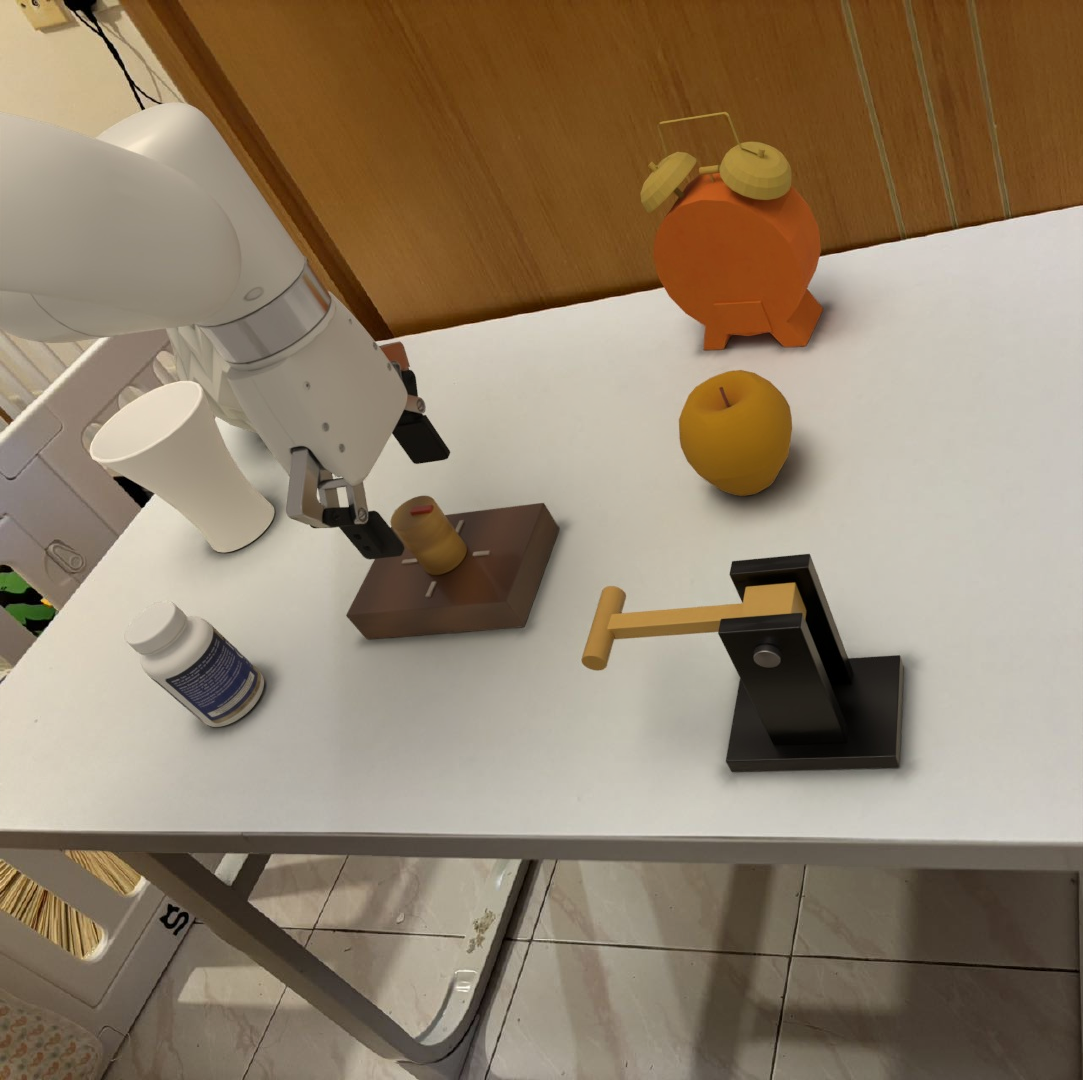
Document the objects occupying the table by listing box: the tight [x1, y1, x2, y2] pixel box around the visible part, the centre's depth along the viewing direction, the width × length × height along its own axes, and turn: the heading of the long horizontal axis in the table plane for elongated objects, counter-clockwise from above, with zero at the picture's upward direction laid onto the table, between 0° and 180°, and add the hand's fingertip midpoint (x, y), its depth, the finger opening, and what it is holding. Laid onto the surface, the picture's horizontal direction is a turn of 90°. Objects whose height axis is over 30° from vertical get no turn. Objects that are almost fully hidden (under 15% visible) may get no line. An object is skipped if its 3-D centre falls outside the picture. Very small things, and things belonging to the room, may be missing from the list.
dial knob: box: [390, 495, 467, 575], centre depth 76 cm, size 4×4×5 cm
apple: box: [678, 369, 793, 497], centre depth 75 cm, size 8×8×9 cm
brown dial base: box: [345, 502, 560, 640], centre depth 79 cm, size 14×10×3 cm
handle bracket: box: [717, 553, 905, 773], centre depth 57 cm, size 10×7×12 cm
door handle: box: [581, 583, 806, 672], centre depth 56 cm, size 12×5×2 cm, turn 81°
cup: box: [89, 381, 276, 553], centre depth 91 cm, size 10×10×14 cm
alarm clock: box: [639, 111, 824, 351], centre depth 85 cm, size 13×6×20 cm, turn 69°
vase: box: [165, 324, 259, 435], centre depth 101 cm, size 16×16×18 cm
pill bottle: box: [124, 600, 265, 728], centre depth 75 cm, size 5×5×10 cm
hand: (410, 504), depth 74 cm, fingers open, 9 cm apart
